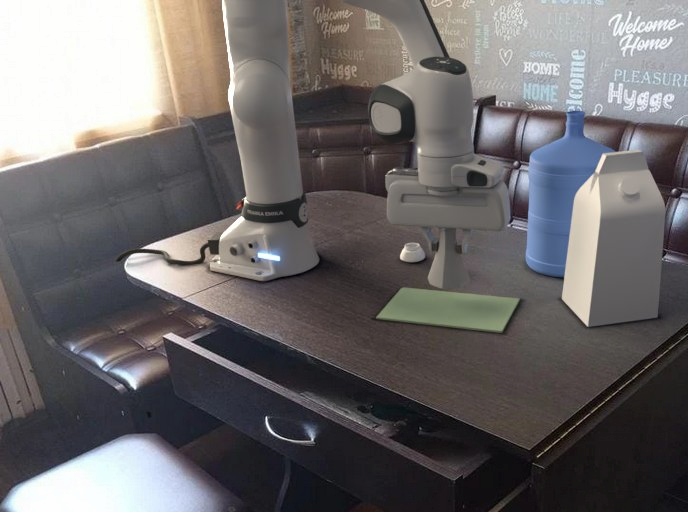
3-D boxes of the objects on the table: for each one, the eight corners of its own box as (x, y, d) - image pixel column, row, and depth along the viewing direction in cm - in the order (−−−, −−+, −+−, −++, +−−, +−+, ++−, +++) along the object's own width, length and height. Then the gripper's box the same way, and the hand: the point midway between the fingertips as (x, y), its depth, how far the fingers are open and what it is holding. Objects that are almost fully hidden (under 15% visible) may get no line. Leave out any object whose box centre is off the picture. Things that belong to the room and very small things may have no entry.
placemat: (376, 319, 132) (376, 316, 132) (402, 289, 143) (402, 287, 142) (502, 333, 125) (502, 331, 125) (519, 300, 135) (519, 298, 135)
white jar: (425, 254, 157) (400, 255, 157) (424, 240, 156) (399, 241, 156) (425, 263, 153) (400, 264, 153) (424, 249, 151) (399, 250, 152)
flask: (420, 278, 133) (417, 222, 128) (457, 269, 135) (456, 214, 130) (439, 293, 127) (437, 235, 122) (478, 283, 129) (477, 226, 124)
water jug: (625, 271, 143) (640, 115, 129) (548, 285, 140) (555, 126, 126) (583, 244, 156) (593, 99, 142) (512, 256, 153) (515, 110, 139)
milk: (626, 290, 136) (642, 140, 123) (657, 317, 126) (678, 157, 113) (561, 298, 135) (570, 147, 121) (587, 327, 125) (600, 166, 112)
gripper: (377, 172, 122) (383, 254, 129) (504, 177, 115) (503, 263, 122) (391, 161, 127) (396, 241, 134) (513, 165, 120) (512, 249, 127)
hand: (448, 251), depth 128 cm, fingers closed on flask, 3 cm apart
